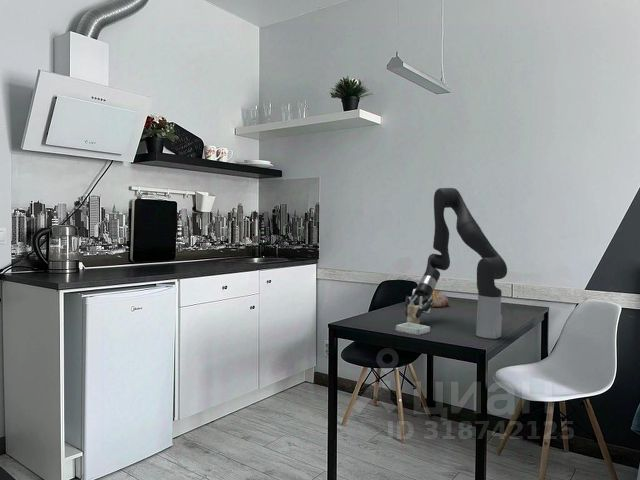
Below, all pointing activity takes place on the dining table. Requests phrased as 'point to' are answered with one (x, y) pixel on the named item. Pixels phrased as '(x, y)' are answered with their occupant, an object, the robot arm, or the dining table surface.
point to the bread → (439, 299)
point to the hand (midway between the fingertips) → (411, 316)
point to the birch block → (413, 314)
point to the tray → (413, 328)
